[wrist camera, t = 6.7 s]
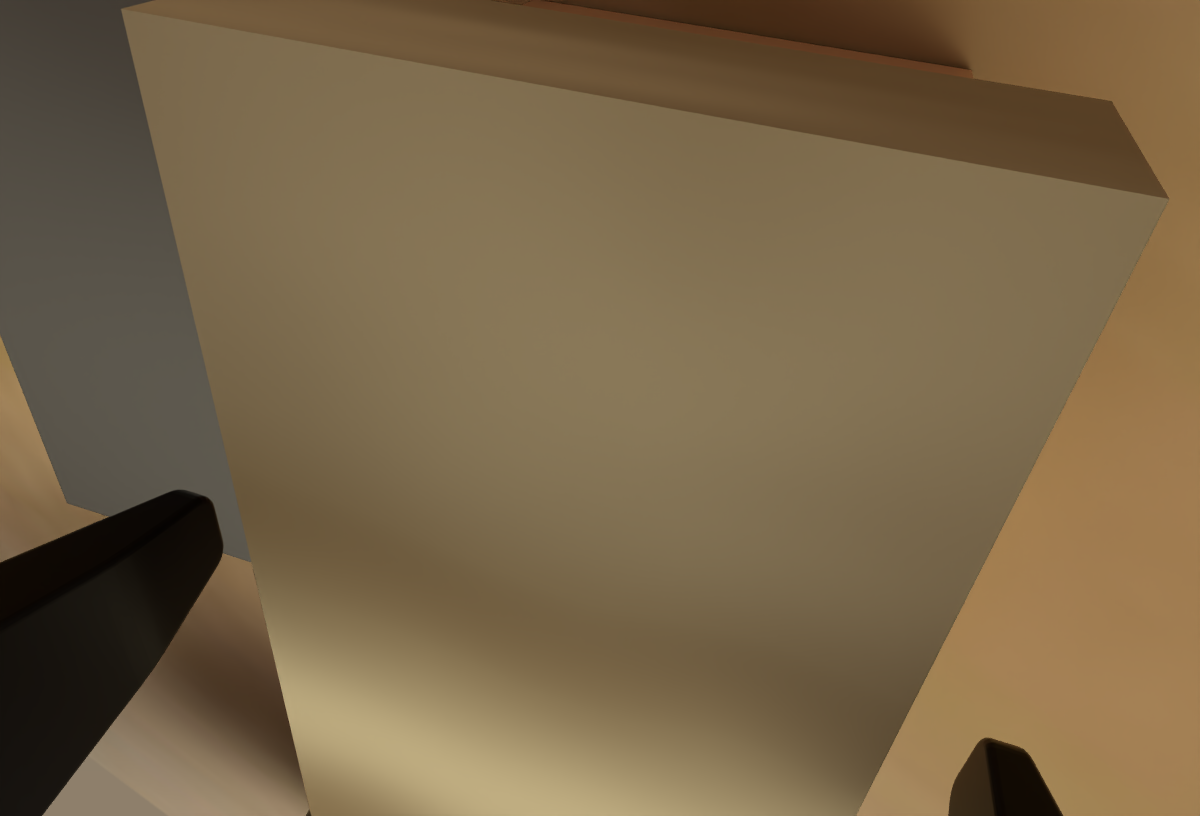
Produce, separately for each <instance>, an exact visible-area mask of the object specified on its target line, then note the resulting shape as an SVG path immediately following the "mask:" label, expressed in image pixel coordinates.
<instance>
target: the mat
mask: <svg viewBox="0 0 1200 816" xmlns="http://www.w3.org/2000/svg"><path fill="white" fill-rule="evenodd" d="M150 1H153V0H0V335H1V338H2V340H3V343H4V346H5V348H6V351H7V353H8V356H9V358H10V361H11V363H12V366H13V368H14V371H15V373H16V376H17V378H18V381H19V383H20V386H21V388H22V391H23V393H24V396H25V398H26V401H27V403H28V406H29V408H30V411H31V413H32V416H33V418H34V421H35V424H36V426H37V429H38V431H39V434H40V436H41V439H42V441H43V444H44V446H45V449H46V451H47V454H48V456H49V459H50V461H51V464H52V466H53V469H54V471H55V474H56V476H57V479H58V481H59V484H60V486H61V489H62V491H63V494H64V496H65V499H66V502H67V503H68V504H71V505H74V506H78V507H81V508H84V509H87V510H90V511H93V512H96V513H99V514H102V515H106V516H109V517H110V516H112V515H115V514H117V513H120V512H122V511H124V510H127V509H129V508H132V507H134V506H136V505H139V504H141V503H143V502H146V501H148V500H151V499H153V498H155V497H158V496H160V495H163V494H165V493H167V492H170V491H173V490H178V489H182V490H187V491H190V492H194V493H197V494H200V495H203V496H206V497H208V498H209V499H210V500H211V501H212V502H213V504H214V507H215V511H216V515H217V519H218V523H219V527H220V530H221V534H222V538H223V543H224V548H223V553H224V554H227V555H230V556H233V557H236V558H239V559H242V560H246V561H249V562H251V558H250V554H249V550H248V545H247V541H246V537H245V533H244V528H243V524H242V520H241V516H240V511H239V507H238V503H237V499H236V494H235V490H234V486H233V482H232V478H231V473H230V469H229V465H228V461H227V456H226V452H225V448H224V444H223V439H222V435H221V431H220V427H219V422H218V418H217V414H216V410H215V405H214V401H213V397H212V393H211V388H210V384H209V380H208V376H207V372H206V367H205V363H204V359H203V355H202V350H201V346H200V342H199V338H198V333H197V329H196V325H195V321H194V316H193V312H192V308H191V304H190V299H189V295H188V291H187V287H186V282H185V278H184V274H183V270H182V266H181V261H180V257H179V253H178V249H177V244H176V240H175V236H174V232H173V227H172V223H171V219H170V215H169V210H168V206H167V202H166V198H165V193H164V189H163V185H162V181H161V176H160V172H159V168H158V164H157V160H156V155H155V151H154V147H153V143H152V138H151V134H150V130H149V126H148V121H147V117H146V113H145V109H144V104H143V100H142V96H141V92H140V87H139V83H138V79H137V75H136V70H135V66H134V62H133V58H132V54H131V49H130V45H129V41H128V37H127V32H126V28H125V24H124V20H123V15H122V11H121V9H123V8H126V7H130V6H134V5H138V4H142V3H146V2H150Z"/></svg>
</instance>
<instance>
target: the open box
mask: <svg viewBox="0 0 1200 816" xmlns="http://www.w3.org/2000/svg"><path fill="white" fill-rule="evenodd" d="M523 6H529V7H535V8H541V9H548V10H554V11H560V12H566V13H572V14H578V15H584V16H591V17H597V18H603V19H609V20H615V21H621V22H627V23H634V24H640V25H646V26H652V27H658V28H664V29H670V30H677V31H683V32H689V33H695V34H701V35H707V36H713V37H720V38H726V39H732V40H738V41H744V42H750V43H756V44H763V45H769V46H775V47H781V48H787V49H793V50H800V51H806V52H812V53H818V54H824V55H830V56H836V57H843V58H849V59H855V60H861V61H867V62H873V63H879V64H886V65H892V66H898V67H904V68H910V69H916V70H922V71H929V72H935V73H941V74H947V75H953V76H959V77H965V78H972V79H973V74H972V70H968V69H962V68H956V67H949V66H943V65H937V64H931V63H925V62H919V61H913V60H906V59H900V58H894V57H888V56H882V55H876V54H870V53H863V52H857V51H851V50H845V49H839V48H833V47H826V46H820V45H814V44H808V43H802V42H796V41H790V40H783V39H777V38H771V37H765V36H759V35H753V34H746V33H740V32H734V31H728V30H722V29H716V28H710V27H703V26H697V25H691V24H685V23H679V22H673V21H667V20H660V19H654V18H648V17H642V16H636V15H630V14H623V13H617V12H611V11H605V10H599V9H593V8H587V7H580V6H574V5H568V4H562V3H556V2H550V1H543V0H531V1H529V2H527V3H525V4H523Z"/></svg>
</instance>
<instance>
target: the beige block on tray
mask: <svg viewBox="0 0 1200 816" xmlns="http://www.w3.org/2000/svg"><path fill="white" fill-rule="evenodd" d="M121 11H122V15H123V20H124V24H125V28H126V32H127V37H128V41H129V45H130V49H131V54H132V58H133V62H134V66H135V70H136V75H137V79H138V83H139V87H140V92H141V96H142V100H143V104H144V109H145V113H146V117H147V121H148V126H149V130H150V134H151V138H152V143H153V147H154V151H155V155H156V160H157V164H158V168H159V172H160V176H161V181H162V185H163V189H164V193H165V198H166V202H167V206H168V210H169V215H170V219H171V223H172V227H173V232H174V236H175V240H176V244H177V249H178V253H179V257H180V261H181V266H182V270H183V274H184V278H185V282H186V287H187V291H188V295H189V299H190V304H191V308H192V312H193V316H194V321H195V325H196V329H197V333H198V338H199V342H200V346H201V350H202V355H203V359H204V363H205V367H206V372H207V376H208V380H209V384H210V388H211V393H212V397H213V401H214V405H215V410H216V414H217V418H218V422H219V427H220V431H221V435H222V439H223V444H224V448H225V452H226V456H227V461H228V465H229V469H230V473H231V478H232V482H233V486H234V490H235V494H236V499H237V503H238V507H239V511H240V516H241V520H242V524H243V528H244V533H245V537H246V541H247V545H248V550H249V554H250V558H251V562H252V567H253V571H254V575H255V579H256V584H257V588H258V592H259V596H260V600H261V605H262V609H263V613H264V617H265V622H266V626H267V630H268V634H269V639H270V643H271V647H272V651H273V656H274V660H275V664H276V668H277V673H278V677H279V681H280V685H281V690H282V694H283V698H284V702H285V706H286V711H287V715H288V719H289V723H290V728H291V732H292V736H293V740H294V745H295V749H296V753H297V757H298V762H299V766H300V770H301V774H302V779H303V783H304V787H305V791H306V796H307V800H308V804H309V808H310V812H311V816H856V815H857V813H858V811H859V809H860V807H861V805H862V803H863V801H864V799H865V797H866V795H867V793H868V791H869V789H870V787H871V785H872V783H873V781H874V779H875V777H876V775H877V773H878V771H879V769H880V767H881V765H882V763H883V761H884V759H885V757H886V755H887V754H888V752H889V750H890V748H891V746H892V744H893V742H894V740H895V738H896V736H897V734H898V732H899V730H900V728H901V726H902V724H903V722H904V720H905V718H906V716H907V714H908V712H909V710H910V708H911V706H912V704H913V702H914V700H915V698H916V696H917V694H918V693H919V691H920V689H921V687H922V685H923V683H924V681H925V679H926V677H927V675H928V673H929V671H930V669H931V667H932V665H933V663H934V661H935V659H936V657H937V655H938V653H939V651H940V649H941V647H942V645H943V643H944V641H945V639H946V637H947V635H948V634H949V632H950V630H951V628H952V626H953V624H954V622H955V620H956V618H957V616H958V614H959V612H960V610H961V608H962V606H963V604H964V602H965V600H966V598H967V596H968V594H969V592H970V590H971V588H972V586H973V584H974V582H975V580H976V578H977V576H978V574H979V573H980V571H981V569H982V567H983V565H984V563H985V561H986V559H987V557H988V555H989V553H990V551H991V549H992V547H993V545H994V543H995V541H996V539H997V537H998V535H999V533H1000V531H1001V529H1002V527H1003V525H1004V523H1005V521H1006V519H1007V517H1008V515H1009V513H1010V512H1011V510H1012V508H1013V506H1014V504H1015V502H1016V500H1017V498H1018V496H1019V494H1020V492H1021V490H1022V488H1023V486H1024V484H1025V482H1026V480H1027V478H1028V476H1029V474H1030V472H1031V470H1032V468H1033V466H1034V464H1035V462H1036V460H1037V458H1038V456H1039V454H1040V452H1041V451H1042V449H1043V447H1044V445H1045V443H1046V441H1047V439H1048V437H1049V435H1050V433H1051V431H1052V429H1053V427H1054V425H1055V423H1056V421H1057V419H1058V417H1059V415H1060V413H1061V411H1062V409H1063V407H1064V405H1065V403H1066V401H1067V399H1068V397H1069V395H1070V393H1071V391H1072V390H1073V388H1074V386H1075V384H1076V382H1077V380H1078V378H1079V376H1080V374H1081V372H1082V370H1083V368H1084V366H1085V364H1086V362H1087V360H1088V358H1089V356H1090V354H1091V352H1092V350H1093V348H1094V346H1095V344H1096V342H1097V340H1098V338H1099V336H1100V334H1101V332H1102V331H1103V329H1104V327H1105V325H1106V323H1107V321H1108V319H1109V317H1110V315H1111V313H1112V311H1113V309H1114V307H1115V305H1116V303H1117V301H1118V299H1119V297H1120V295H1121V293H1122V291H1123V289H1124V287H1125V285H1126V283H1127V281H1128V279H1129V277H1130V275H1131V273H1132V271H1133V270H1134V268H1135V266H1136V264H1137V262H1138V260H1139V258H1140V256H1141V254H1142V252H1143V250H1144V248H1145V246H1146V244H1147V242H1148V240H1149V238H1150V236H1151V234H1152V232H1153V230H1154V228H1155V226H1156V224H1157V222H1158V220H1159V218H1160V216H1161V214H1162V212H1163V210H1164V209H1165V207H1166V205H1167V203H1168V201H1169V198H1168V196H1167V194H1166V193H1165V191H1164V189H1163V188H1162V186H1161V184H1160V182H1159V181H1158V179H1157V177H1156V176H1155V174H1154V172H1153V171H1152V169H1151V167H1150V166H1149V164H1148V162H1147V161H1146V159H1145V157H1144V155H1143V154H1142V152H1141V150H1140V149H1139V147H1138V145H1137V144H1136V142H1135V140H1134V139H1133V137H1132V135H1131V133H1130V132H1129V130H1128V128H1127V127H1126V125H1125V123H1124V122H1123V120H1122V118H1121V117H1120V115H1119V113H1118V112H1117V110H1116V108H1115V106H1114V105H1113V103H1112V101H1107V100H1101V99H1095V98H1088V97H1082V96H1076V95H1070V94H1064V93H1058V92H1052V91H1045V90H1039V89H1033V88H1027V87H1021V86H1015V85H1008V84H1002V83H996V82H990V81H984V80H978V79H972V78H965V77H959V76H953V75H947V74H941V73H935V72H929V71H922V70H916V69H910V68H904V67H898V66H892V65H886V64H879V63H873V62H867V61H861V60H855V59H849V58H843V57H836V56H830V55H824V54H818V53H812V52H806V51H800V50H793V49H787V48H781V47H775V46H769V45H763V44H756V43H750V42H744V41H738V40H732V39H726V38H720V37H713V36H707V35H701V34H695V33H689V32H683V31H677V30H670V29H664V28H658V27H652V26H646V25H640V24H634V23H627V22H621V21H615V20H609V19H603V18H597V17H591V16H584V15H578V14H572V13H566V12H560V11H554V10H548V9H541V8H535V7H529V6H523V5H517V4H511V3H504V2H498V1H492V0H153V1H150V2H146V3H142V4H138V5H134V6H130V7H126V8H123V9H121Z"/></svg>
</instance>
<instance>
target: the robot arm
mask: <svg viewBox="0 0 1200 816" xmlns="http://www.w3.org/2000/svg"><path fill="white" fill-rule="evenodd" d="M223 548H224V543H223V538H222V534H221V530H220V527H219V523H218V519H217V515H216V511H215V507H214V504H213V502H212V501H211V500H210V499H209V498H208V497H206V496H203V495H200V494H197V493H194V492H190V491H187V490H182V489H178V490H173V491H170V492H167V493H165V494H163V495H160V496H158V497H155V498H153V499H151V500H148V501H146V502H143V503H141V504H139V505H136V506H134V507H132V508H129V509H127V510H124V511H122V512H120V513H117V514H115V515H112V516H110V517H108V518H105V519H103V520H100V521H98V522H96V523H93V524H91V525H89V526H86V527H84V528H81V529H79V530H77V531H74V532H72V533H69V534H67V535H65V536H62V537H60V538H58V539H55V540H53V541H50V542H48V543H46V544H43V545H41V546H38V547H36V548H34V549H31V550H29V551H26V552H24V553H22V554H19V555H17V556H15V557H12V558H10V559H7V560H5V561H3V562H0V816H42V815H43V814H44V813H45V811H46V810H47V809H48V807H49V806H50V805H51V803H52V802H53V801H54V799H55V798H56V797H57V796H58V794H59V793H60V792H61V790H62V789H63V788H64V786H65V785H66V784H67V782H68V781H69V780H70V778H71V777H72V776H73V774H74V773H75V772H76V771H77V769H78V768H79V767H80V765H81V764H82V763H83V761H84V760H85V759H86V757H87V756H88V755H89V754H90V752H91V751H92V750H93V748H94V747H95V746H96V744H97V743H98V742H99V740H100V739H101V738H102V736H103V735H104V734H105V733H106V731H107V730H108V729H109V727H110V726H111V725H112V723H113V722H114V721H115V719H116V718H117V717H118V715H119V714H120V713H121V712H122V710H123V709H124V708H125V706H126V705H127V704H128V702H129V701H130V700H131V698H132V697H133V696H134V694H135V693H136V692H137V691H138V689H139V688H140V687H141V685H142V684H143V682H144V681H145V680H146V678H147V677H148V676H149V674H150V673H151V671H152V670H153V669H154V667H155V666H156V664H157V663H158V661H159V660H160V658H161V657H162V655H163V654H164V652H165V650H166V649H167V647H168V646H169V644H170V642H171V641H172V639H173V637H174V636H175V634H176V633H177V631H178V629H179V628H180V626H181V624H182V623H183V621H184V620H185V618H186V616H187V615H188V613H189V611H190V610H191V608H192V607H193V605H194V603H195V602H196V600H197V598H198V597H199V595H200V594H201V592H202V590H203V589H204V587H205V585H206V584H207V582H208V581H209V579H210V577H211V576H212V574H213V573H214V571H215V569H216V568H217V566H218V564H219V562H220V560H221V557H222V554H223ZM306 816H311V812H310V809H309V811H308V813H307V814H306ZM948 816H1063V814H1062V813H1061V811H1060V809H1059V807H1058V805H1057V804H1056V802H1055V800H1054V798H1053V796H1052V794H1051V793H1050V791H1049V789H1048V787H1047V785H1046V783H1045V782H1044V780H1043V778H1042V776H1041V774H1040V772H1039V771H1038V769H1037V767H1036V765H1035V763H1034V761H1033V760H1032V758H1031V756H1030V755H1029V754H1028V753H1027V752H1026V751H1025V750H1024V749H1022V748H1020V747H1018V746H1015V745H1011V744H1008V743H1005V742H1002V741H998V740H995V739H992V738H983V739H982V740H980V741H979V742H978V743H977V745H976V746H975V748H974V750H973V751H972V753H971V755H970V756H969V758H968V759H967V761H966V763H965V764H964V766H963V768H962V769H961V771H960V772H959V774H958V776H957V777H956V779H955V782H954V784H953V787H952V791H951V796H950V803H949V814H948Z"/></svg>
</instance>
